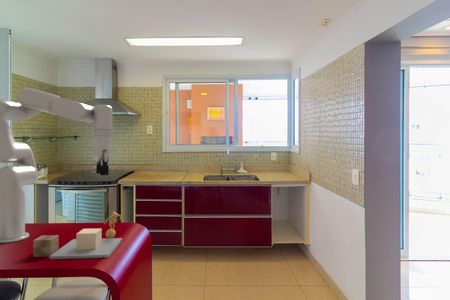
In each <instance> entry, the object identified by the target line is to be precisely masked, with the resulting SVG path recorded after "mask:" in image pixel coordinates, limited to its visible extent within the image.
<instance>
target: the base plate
mask: <svg viewBox="0 0 450 300" xmlns="http://www.w3.org/2000/svg"><path fill="white" fill-rule="evenodd" d="M102 231H103V230H102V227H101V228H82V229H80V230H79V232H77V233H76V234H75V235H76V236H75V237H76V238H74V239H71V240H70V241H69V242H67V243H66V244H64V245H63V246H62V247H60V248H59V250H58V251H56V252H55V253H53V254H52V255H51V256H49V260H68V259H72V260H73V259H100V258H101V259H103V257H104V259H105V258H109V257H110V256H111V255H112V253H113V252H114V251H115V250H116V249H117V248H118V246H119V245H120V244H121V242H122V241H123V238H122V237H120V238H119V237H116V238H115V237H113V238H107V237H106V238H105V237H104V238H102V235H103V234H102V233H103V232H102Z"/></svg>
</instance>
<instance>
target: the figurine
mask: <svg viewBox="0 0 450 300" xmlns="http://www.w3.org/2000/svg"><path fill="white" fill-rule="evenodd" d="M118 217H119V219H118V220H119V221H122V215H121V214H118V213H117V212H115V211H114V210H113V211H112V213H111V216H109V217H108V218H107V219H106V220H105V221H104V225H105V224H106V223H107V222H108V221H109V220H110V219H111V220H110V222H109V223H108V225H109V227H110V228H108V230H107V231H106V232H105V236H106V238H115V236H116V233H117V232H116V230H115V226H116V225H115V223H116V222H117V218H118Z"/></svg>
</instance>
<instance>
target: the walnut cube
mask: <svg viewBox="0 0 450 300" xmlns="http://www.w3.org/2000/svg"><path fill="white" fill-rule="evenodd" d="M59 237H60V236H59V235H58V234H56V235H54V234H52V235H41V236H39V237H37V238H36V239H33V242H32V243H33V244H32V245H33V247H32V249H33V250H32V252H33V253H32V254H33V255H32V257H33V258H34V257H41V258H43V257H50V256H51V255H52V254H53V253H55V252H56V251H58V250H59V249H60V248H59V247H60V246H59V244H60V242H59V240H60V239H59Z"/></svg>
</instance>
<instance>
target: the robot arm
mask: <svg viewBox="0 0 450 300" xmlns="http://www.w3.org/2000/svg"><path fill="white" fill-rule="evenodd" d="M16 100H17V101H13V100H9V99H5V98H4V99H3V98H0V163H1V164H12V163H13V164H12V165H5V166H2V167H1V168H0V244H2V243H3V244H4V243H5V244H6V243H13V242H14V243H15V242H19V241H22V240H25V239H27V238H29V237H30V233H29V232H26V194H25V191H24V189H23V188H22V187H24V186H28V185H32V184H34V183H36V181H37V180H38V177H39V173H38V172H39V170H38V168H37V167H38V166H37V163H36V160H35V157H34V156H35V155H34V152H33V150H32V148H31V147H30V145H28V144H27V143H26V142H23V141H22V142H21V141H16V140H15V138H14V133H13V131H12V129H11V127H10V126H9V124H8V123H7V122H6V121H14V122H24V121H27V120H29V119H31V118H33V117H35V116H37V115H39V114H41V113H46V114H49V115H55V116H58V117H62V118H65V119H69V120H71V121H72V120H73V121H77V122H83V123H85V124H86V123H88V124H92V123H93V128H92V129H93V130H92V134H93V135H92V138H95V139H94V152H93V153H94V155H93V160H95V161H96V169H95V171H96V174H99V175H100V176H109V175H110V174H109V173H110V171H109V170H110V169H109V166H110V165H109V160H110V155H111V150H110V149H111V148H110V147H111V145H110V143H111V142H110V141H111V139H112V138H113V107H112V106H111V105H108V104H95V105H94V106H93V105H90V104H89V105H88V104H86V103H82V102H79V101H76V100H71V99H68V98H64V97H61V96H59V95H58V94H54V93H51V92H48V91H44V90H40V89H35V88H32V87H23V88H21V89H18V91H17V93H16Z"/></svg>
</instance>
